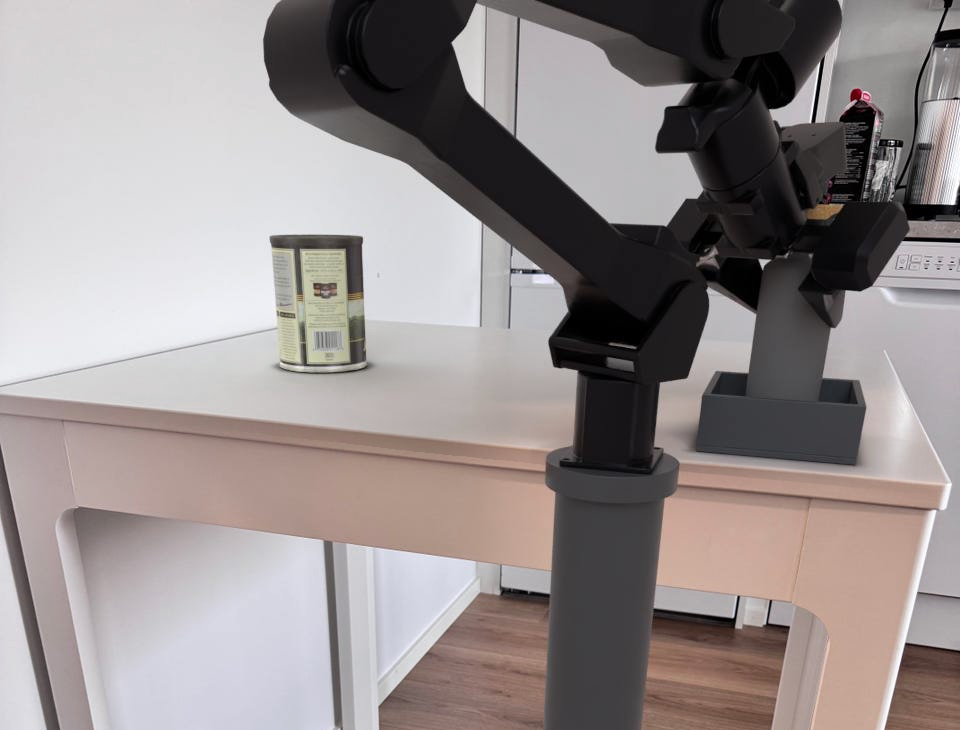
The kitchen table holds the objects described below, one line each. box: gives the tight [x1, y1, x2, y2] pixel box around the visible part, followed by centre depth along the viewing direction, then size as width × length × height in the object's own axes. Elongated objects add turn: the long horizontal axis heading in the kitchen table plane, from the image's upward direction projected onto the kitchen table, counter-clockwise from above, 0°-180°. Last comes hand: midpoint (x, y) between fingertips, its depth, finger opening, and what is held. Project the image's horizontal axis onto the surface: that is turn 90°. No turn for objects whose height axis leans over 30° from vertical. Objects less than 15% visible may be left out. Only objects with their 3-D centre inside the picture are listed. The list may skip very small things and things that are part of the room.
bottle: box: [746, 203, 843, 402], centre depth 75 cm, size 6×6×15 cm
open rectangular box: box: [695, 370, 867, 466], centre depth 79 cm, size 12×12×4 cm
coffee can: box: [269, 234, 368, 374], centre depth 108 cm, size 10×10×14 cm
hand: (803, 319), depth 77 cm, fingers closed on bottle, 6 cm apart
